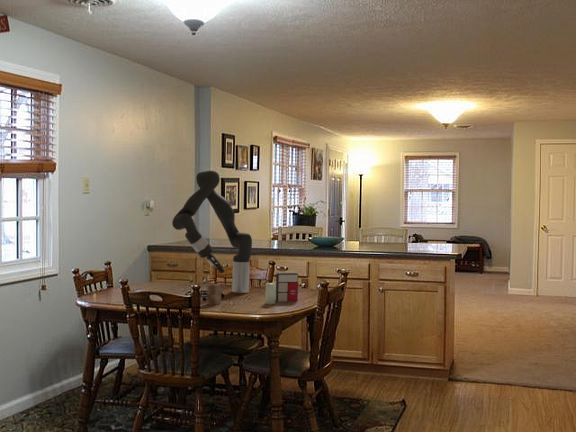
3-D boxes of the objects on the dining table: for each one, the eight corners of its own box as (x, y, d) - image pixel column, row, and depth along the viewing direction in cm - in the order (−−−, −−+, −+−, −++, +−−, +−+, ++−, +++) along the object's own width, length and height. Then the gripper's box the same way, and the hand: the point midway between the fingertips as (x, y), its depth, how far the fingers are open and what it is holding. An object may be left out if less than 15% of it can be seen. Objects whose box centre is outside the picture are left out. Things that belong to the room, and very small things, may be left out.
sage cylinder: (264, 302, 333) (265, 282, 332) (274, 302, 333) (275, 283, 333) (265, 304, 328) (265, 284, 327) (275, 304, 328) (275, 284, 328)
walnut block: (206, 304, 325) (207, 284, 324) (212, 303, 329) (212, 283, 329) (215, 305, 322) (216, 285, 322) (220, 304, 327) (221, 284, 326)
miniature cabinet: (277, 303, 338) (278, 274, 337) (275, 301, 342) (276, 272, 341) (297, 302, 340) (298, 273, 340) (295, 301, 345) (296, 272, 344)
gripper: (193, 249, 339) (211, 272, 344) (199, 253, 326) (218, 278, 330) (204, 240, 341) (222, 263, 345) (210, 244, 327) (230, 268, 332)
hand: (220, 270), depth 338 cm, fingers open, 8 cm apart
